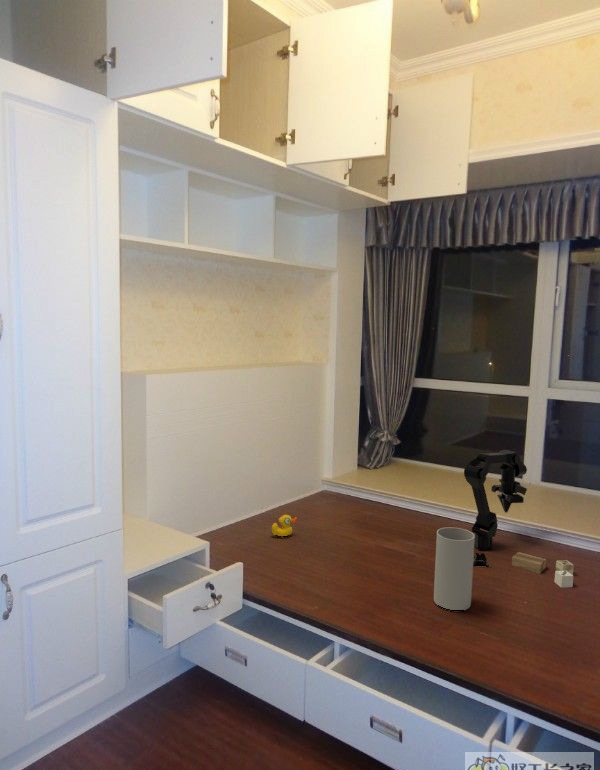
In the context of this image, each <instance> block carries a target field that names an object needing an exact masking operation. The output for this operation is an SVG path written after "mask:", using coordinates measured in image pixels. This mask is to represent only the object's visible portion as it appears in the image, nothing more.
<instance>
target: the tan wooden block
mask: <svg viewBox="0 0 600 770" xmlns="http://www.w3.org/2000/svg"><path fill="white" fill-rule="evenodd" d="M511 566H512V567H514V566H515V567H514V568H519V569H521V568H522V569H523V570H525V571H529V572H532V573H535V572H536V574H538V575H540V574H542V572H544V570H545V569H547V568H546V566H547V559H546V558H542V557H539V556H535V555H531V554H528V553H523V552H520V551H518V552H516V553H515V554H514V555H513V556H512V557H511ZM522 569H521V570H522Z"/></svg>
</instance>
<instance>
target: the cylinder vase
mask: <svg viewBox="0 0 600 770" xmlns="http://www.w3.org/2000/svg"><path fill="white" fill-rule="evenodd" d="M474 544H475V533H473V532H472V531H470V530H468V529H465V528H460V527H448V526H447V527H441V528H439V529H437V531H436V543H435V562H434V563H435V564H434V565H435V566H434V586H433V601H434V603H435V604H436V605H437V606H438V605H439V606H441V607H443V608H446V609H450V610H464V611H467V610H468V609H469V608H470V607H471V605H472V604H471V603H472V587H473V571H474V567H473V561H474V558H473V557H474V555H475V547H474ZM439 606H438V607H439ZM441 607H440V608H441ZM443 608H442V609H443ZM446 609H445V610H446ZM450 610H449V611H450Z"/></svg>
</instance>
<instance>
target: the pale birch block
mask: <svg viewBox="0 0 600 770" xmlns="http://www.w3.org/2000/svg"><path fill="white" fill-rule="evenodd" d="M555 562H556V563H555V571H568V572H569V573H570V574H572V575H573V576H574V567H575V564H573V563H572V562H570V561H569V560H567V559H564V560H556V561H555Z"/></svg>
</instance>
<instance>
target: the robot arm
mask: <svg viewBox="0 0 600 770" xmlns="http://www.w3.org/2000/svg"><path fill="white" fill-rule="evenodd" d="M481 463H482V464H484V466H483V468H482V467H479V465H480V464H481ZM491 464H502V465H500V466H499V470H501V477H500V478H499V480H498V481H499V483H500V484H493V485H492V486H491V492H493V493H496V492H498V494H497V498H498V500H499V502H500V505H501V507H502V509H503V512H504V513H508V512H509V510H510V507H511V505H512V504H522V503H523V504H524V499H525V498H524V497H523V496H525V495H526V493H527V491H528V488H526V487H525V486H522V485H521V483H520V481H517V480H516V478H517V477H521V476H525V475H526V474H527V473H528V469H527V466H526V465H525V464H524V461H523V460H521V458H520V455H519V453H518V451H512V450H508V449H502V450H499V452H491V453H482V452H481V453H478V455H477V457H475V458H473V459H472V460H470V461H469V462H467V465H466V466H465V468H464V470H463V476H464V478H465V479H466V482H467V483H468V485H470V486H471V490H472V493H473V496H474V497H473V498H474V502H475V505H476V509H477V513H478V514H477V515H476V517H475V522H474V524H473V526H472V527H471V532H472V533H473V534H474V535H475V539H474V549H477V550H478V551H479V552H480V551H481V552H483V551H485V552H488V551H494V549H493V543H494V541H493V540H494V539H493V538H494V537H496V534H497V530H498V526H499V523H498V518H497V513H495V512H493V511H491V510H490V506H489V501H488V498H487V497H488V496H487V493H486V489H485V485H484V484H485V482H486V480H487V476H488V474H489V473H490V465H491Z"/></svg>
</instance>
